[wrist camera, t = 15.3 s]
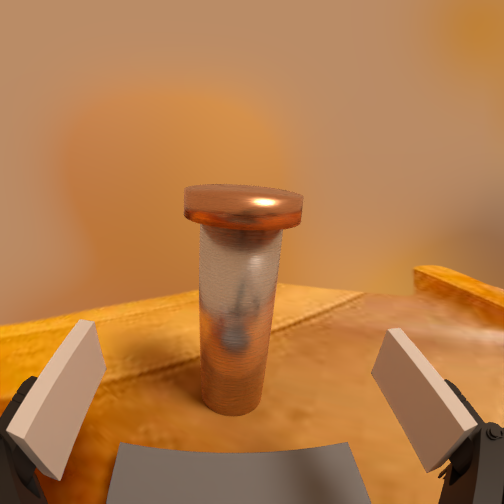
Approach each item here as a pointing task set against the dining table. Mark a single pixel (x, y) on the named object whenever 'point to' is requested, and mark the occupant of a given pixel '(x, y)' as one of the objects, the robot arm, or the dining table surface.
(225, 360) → the round flanged pin
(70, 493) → the dining table surface
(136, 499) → the bore plate
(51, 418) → the robot arm
